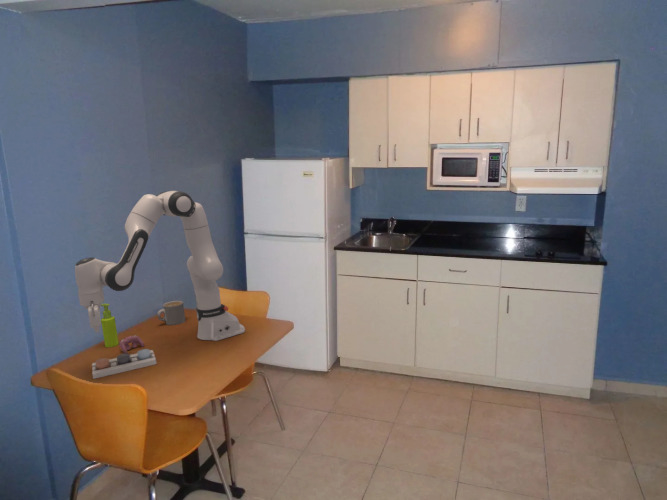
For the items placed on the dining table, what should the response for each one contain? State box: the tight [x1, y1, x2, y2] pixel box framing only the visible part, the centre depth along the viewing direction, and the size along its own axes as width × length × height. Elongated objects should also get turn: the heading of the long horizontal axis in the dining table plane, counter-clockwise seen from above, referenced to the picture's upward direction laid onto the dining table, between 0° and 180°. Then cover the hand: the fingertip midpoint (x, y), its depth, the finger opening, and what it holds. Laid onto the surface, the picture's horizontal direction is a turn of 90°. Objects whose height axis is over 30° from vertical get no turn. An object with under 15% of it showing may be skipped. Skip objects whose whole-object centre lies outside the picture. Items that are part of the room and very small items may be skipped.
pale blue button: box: [136, 348, 152, 361], centre depth 205 cm, size 5×5×3 cm
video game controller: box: [118, 335, 145, 354], centre depth 220 cm, size 10×5×7 cm, turn 141°
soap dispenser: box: [100, 303, 120, 348], centre depth 225 cm, size 6×7×20 cm
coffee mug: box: [156, 300, 186, 326], centre depth 252 cm, size 13×10×10 cm
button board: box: [91, 349, 158, 380], centre depth 202 cm, size 24×12×2 cm, turn 117°
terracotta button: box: [94, 357, 110, 370], centre depth 198 cm, size 5×5×3 cm
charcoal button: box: [116, 352, 132, 366], centre depth 201 cm, size 5×5×3 cm
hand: (97, 331), depth 195 cm, fingers closed
